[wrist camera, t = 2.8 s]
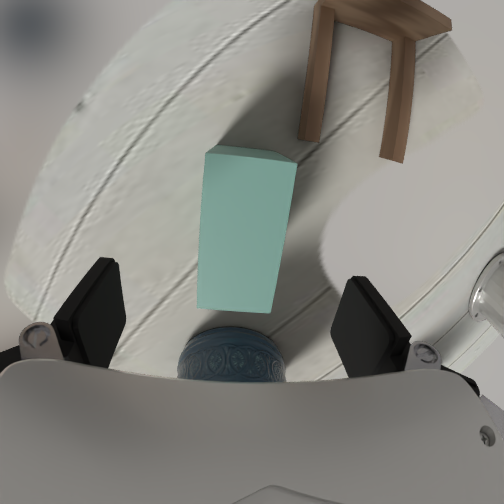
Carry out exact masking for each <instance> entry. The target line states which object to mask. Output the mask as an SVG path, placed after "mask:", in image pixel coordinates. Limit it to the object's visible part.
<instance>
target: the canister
mask: <svg viewBox="0 0 504 504" xmlns="http://www.w3.org/2000/svg"><path fill="white" fill-rule="evenodd" d="M177 372H178V376H177V378H179V379H191V380H204V381H222V382H286V377H285V365H284V360H283V357H282V355H281V353H280V352H279V350H278V348H277V346H276V345H275V344H274V342H272V341H271V340H270V339H269V338H268V337H266V336H264V335H263V334H261V333H258V332H256V331H253V330H250V329H245V328H239V327H222V328H215V329H211V330H208V331H205V332H203V333H200V334H198V335H197V336H195V337H194V338H192V339H191V340H190V341H189V342H188V343H187V345H186V346H185V348H184V350H183V352H182V353H181V356H180V358H179V362H178V367H177Z"/></svg>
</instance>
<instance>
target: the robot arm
mask: <svg viewBox="0 0 504 504" xmlns="http://www.w3.org/2000/svg"><path fill="white" fill-rule="evenodd" d="M469 312H470V315H471V317H472V318H473V319H474V320H476V321H483V320H486V319H487V320H488V321H489V322H490V324H491V325H492V326H493V327H494V328H495V329H496V330H497V331H498V332H499V333H500V334H501V336H502V337H503V338H504V253H501V254H499V255H498V256H496V257H495V258H494V259H493V260H492V261H491V262H490V263H489V264H488V265H487V267H486V268H485V269H484V271H483V272H482V274H481V275H480V277H479V279H478V281H477V283H476V285H475V287H474V289H473V292H472V295H471V298H470V303H469ZM125 324H126V313H125V307H124V301H123V294H122V287H121V279H120V271H119V264H118V262H115V260H114V259H113V258H104V257H100V258H99V259H98V260H97V261H96V262H95V264H94V265H93V266H92V267H91V269H90V270H89V271H88V272H87V274H86V275H85V276H84V277H83V279H82V280H81V281H80V282H79V284H78V285H77V286H76V288H75V289H74V290H73V292H72V293H71V294H70V296H69V297H68V298H67V300H66V301H65V302H64V304H63V305H62V306H61V308H60V309H59V311H58V312H57V313H56V315H55V316H54V320H53V321H52V323H51V324H48V323H45V322H36V323H32V324H30V325H28V326H27V327H25V328H24V329H23V330H22V332H21V333H20V336H19V345H18V346H16V347H13V348H11V349H8V350H6V351H3V352H0V504H504V411H503V410H502V409H501V408H499V407H498V406H497V405H495V404H494V403H493V402H492V401H490V400H489V399H488V398H486V397H485V396H484V395H482V396H481V397H479V395H480V392H479V388H478V386H477V384H476V382H475V381H474V380H472V379H471V378H468V377H466V376H464V375H461V374H460V373H457V372H455V371H453V370H451V369H449V368H447V367H445V366H442V365H441V355H440V353H439V352H438V350H437V349H436V348H435V347H434V346H432V345H431V344H429V343H427V342H423V341H416V342H413V343H412V344H410V343H409V340H410V338H411V337H412V336H411V334H410V333H409V332H408V330H407V329H406V328H405V326H404V325H403V324H402V322H401V321H400V320H399V318H398V317H397V316H396V314H395V313H394V312H393V310H392V309H391V308H390V306H389V305H388V304H387V302H386V301H385V300H384V299H383V297H382V296H381V295H380V294H379V292H378V291H377V290H376V288H375V287H374V286H373V285H372V284H371V283H370V281H369V280H368V278H366V277H365V276H353V277H352V278H351V279H349V280H348V281H347V283H346V286H345V289H344V292H343V295H342V298H341V301H340V304H339V307H338V310H337V313H336V315H335V318H334V321H333V324H332V327H331V331H330V334H331V338H332V340H333V342H334V344H335V347H336V349H337V351H338V353H339V356H340V358H341V360H342V363H343V365H344V367H345V370H346V372H347V374H348V377H349V378H344V379H333V380H319V381H301V382H222V381H204V380H191V379H179V378H170V377H161V376H153V375H145V374H139V373H132V372H126V371H120V370H114V369H108V367H109V364H110V362H111V359H112V356H113V354H114V351H115V349H116V346H117V344H118V341H119V339H120V336H121V334H122V331H123V329H124V327H125Z"/></svg>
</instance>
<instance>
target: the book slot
mask: <svg viewBox="0 0 504 504" xmlns="http://www.w3.org/2000/svg"><path fill="white" fill-rule="evenodd" d="M334 21H337V22H340V23H343V24H346V25H349V26H352V27H355V28H358V29H361V30H364V31H367V32H369V33H372V34H375V35H377V36H380V37H382V38H385V39H387V40H389V41H392V56H391V71H390V83H389V93H388V102H387V110H386V117H385V125H384V131H383V138H382V144H381V150H380V155H379V157H381V158H385V159H389V160H392V161H396V162H399V163H403V160H404V155H405V149H406V143H407V137H408V130H409V123H410V115H411V107H412V97H413V86H414V72H415V43H416V41H418V40H421V39H424V38H428V37H431V36H434V35H437V34H441V33H444V32H448V31H451V30H452V24H451V19H450V18H448V17H446V16H445V15H443V14H442V13H440V12H439V11H437V10H436V9H434V8H432V7H430V6H429V5H427V4H425V3H424V2H422V1H420V0H318V1H317V3H316V4H315V5H314V13H313V23H312V32H311V41H310V49H309V58H308V66H307V74H306V82H305V89H304V97H303V104H302V111H301V119H300V126H299V132H298V139H301V140H306V141H312V142H318V143H319V140H320V133H321V127H322V120H323V113H324V106H325V98H326V91H327V83H328V74H329V66H330V57H331V47H332V37H333V26H334Z"/></svg>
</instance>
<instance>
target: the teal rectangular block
mask: <svg viewBox="0 0 504 504" xmlns="http://www.w3.org/2000/svg"><path fill="white" fill-rule="evenodd" d="M296 170H297V163H296V162H294V161H292V160H290V159H288V158H286V157H285V156H283V155H281V154H279V153H277V152H275V151H269V150H261V149H253V148H244V147H234V146H224V145H216V146H214V147H213V148H212V149H210V150H209V151H208V152H206V154H205V165H204V176H203V189H202V202H201V217H200V234H199V254H198V280H197V308H201V309H213V310H225V311H239V312H254V313H271V308H272V303H273V298H274V293H275V288H276V283H277V278H278V273H279V267H280V262H281V257H282V251H283V246H284V240H285V235H286V229H287V223H288V218H289V212H290V206H291V200H292V194H293V188H294V182H295V176H296Z"/></svg>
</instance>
